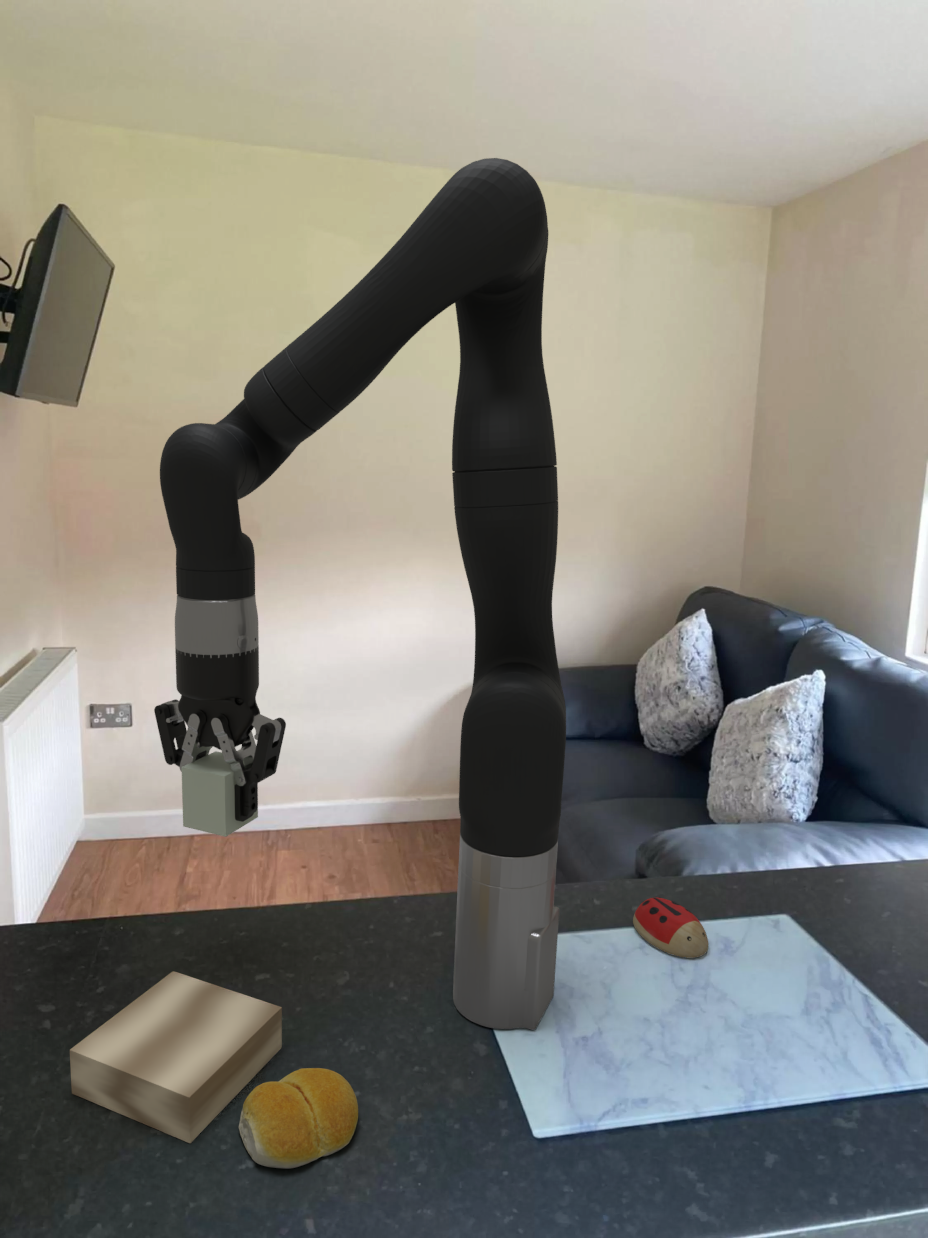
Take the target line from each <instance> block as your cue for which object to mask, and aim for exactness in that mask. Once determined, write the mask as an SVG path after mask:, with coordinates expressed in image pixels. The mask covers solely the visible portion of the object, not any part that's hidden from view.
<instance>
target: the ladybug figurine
mask: <svg viewBox="0 0 928 1238" xmlns="http://www.w3.org/2000/svg"><path fill="white" fill-rule="evenodd" d="M632 923H633V924H632V925H633V926H634V928H635V931H637V933H638V934H639V935H640V937H642V938H643V939H644V940H645V941H646V942H647V943H649V944H650V945H651V946H653V947H654V948H656V949H658V950H660V951H662V952H665V953H666V952H667V953H666V954H669V955H671V954H672V956H674V955H675V956H674V957H678V956H679V958H684V957H686V958H685V959H694V958H695V957H696V958H700V957H701V956H704V955H705V954H706V953H707V951H708V949H709V944H710V943H709V939H708V936H707V932H706V930H705V928H704V926H703V924H702V923H701V922H700V920H699V919H698V918H697V916H696V915H694V914H693V913H692V912H691V911H690V910H688V909H687V908H686V907H684V906H682V905H680V903H678V902H676V901H672V900H669V899H666V898H662V897H660V896H659V897H650V898H647V899H645V900H644V901H643V902H641V903H640V904H639V906H637V908H636V910H635V911H634V915H633V918H632Z"/></svg>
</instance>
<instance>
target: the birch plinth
mask: <svg viewBox="0 0 928 1238" xmlns="http://www.w3.org/2000/svg"><path fill="white" fill-rule="evenodd" d="M282 1013H283V1007H282V1006H279V1005H276V1004H273V1003H270V1002H267V1001H264V1000H263V999H262V1000H261V999H258V998H256V997H253V996H252V997H251V996H249V995H246V994H243V993H240V992H238V991H235V990H231V989H228V988H224V987H223V986H219V985H216V984H213V983H210V982H207V981H204V980H201V979H198V978H195V977H192V976H189V975H187V974H183V973H180V972H177V971H171V972H170V973H168V974H167V975H166V976H164V977H163V978H162V979H161V980H160V981H158V982H157V983H155V984H154V985H152V986H151V987H150V988H149V989H147V991H145V992H144V993H142V994H141V995H139V996H138V997H137V998H136V999H134V1000H133V1001H132V1002H130V1003H129V1004H128V1005H126V1006H125V1007H123V1009H121V1010H120V1011H119V1012H118V1013H116V1014H114V1016H113V1017H111V1018H110V1019H108V1020H107V1021H106V1022H104V1023H103V1024H102V1025H100V1026H99V1027H98V1028H97V1029H95V1030H94V1031H92V1032H91V1033H90V1034H88V1035H87V1036H86V1037H85V1038H83V1039H82V1040H81V1041H79V1042H78V1043H76V1044H75V1045H73V1047H72V1048H70V1049H69V1063H70V1064H69V1065H70V1080H71V1081H70V1084H71V1085H70V1086H71V1095H74V1096H76V1097H78V1098H82V1099H84V1100H87V1101H89V1102H92V1103H94V1104H95V1105H98V1106H101V1107H103V1108H105V1109H108V1110H110V1111H112V1112H115V1113H117V1114H119V1115H122V1116H124V1117H127V1118H128V1119H131V1120H133V1121H136V1122H138V1123H140V1124H144V1125H145V1126H148V1127H150V1128H153V1129H155V1130H157V1131H160V1132H162V1133H164V1134H166V1135H169V1136H172V1137H174V1138H175V1139H176V1138H177V1140H181V1141H183V1142H186V1143H188V1144H192V1142H194V1141H195V1139H196V1138H198V1137H199V1135H200V1133H202V1132H203V1131H204V1130H205V1129H206V1127H208V1125H210V1124H211V1123H212V1121H213V1120H214V1119H216V1118H217V1116H218V1115H219V1114H220V1113H221V1112H222V1111H223V1110H224V1109H225V1108H226V1107H227V1106H228V1104H230V1102H232V1101H233V1099H235V1097H236V1096H237V1095H238V1094H239V1093H240V1092H241V1091H242V1090H243V1089H244V1088H245V1087H246V1086H247V1085H248V1084H249V1083H250V1082H251V1080H252V1079H254V1077H256V1075H257V1074H258V1073H259V1072H260V1071H261V1070H262V1069H263V1068H264V1067H265V1066H266V1065H267V1064H268V1062H270V1061H271V1060H272V1058H273V1057H274V1056H275V1055H276V1054H278V1052H279V1051H280V1050H281V1049H282V1048H283V1047H282V1046H283V1045H282V1043H283V1041H282V1040H283V1033H282V1032H283V1028H282V1027H283V1022H282V1021H283V1017H282V1016H283V1014H282Z"/></svg>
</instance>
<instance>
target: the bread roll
mask: <svg viewBox="0 0 928 1238" xmlns="http://www.w3.org/2000/svg"><path fill="white" fill-rule="evenodd" d="M358 1119H359V1104H358V1099H357V1096H356V1093H355V1091H354V1089H353V1088H352V1085H351V1083H350V1082H348V1080H347V1079H345V1077H344V1076H343V1075H341V1074H340V1073H338V1072H336V1071H334V1070H331V1069H328V1068H320V1067H311V1068H310V1067H308V1068H307V1067H306V1068H304V1067H303V1068H299V1069H297V1070H295V1071H292V1072H290V1073H289V1074H287V1075H285V1076H284V1077H283V1078H281V1079H280V1080H278V1081H265V1082H263V1083H260V1084H259V1085H257V1086H255V1087H254V1088H253V1089H252V1090H251V1092H249V1094H248V1095H247V1096H246V1098H245V1100H244V1102H243V1104H242V1109H241V1113H240V1119H239V1124H238V1131H239V1134H240V1137H241V1140H242V1142H243V1146H244V1148H245V1150H246V1151H247V1153H248V1154H249V1156H250V1157H251V1159H252V1160H253V1161H254V1162H255V1163H257V1164H258V1165H261V1166H264V1167H266V1168H276V1169H285V1170H286V1169H294V1168H298V1167H299V1168H300V1167H301V1166H304V1165H305V1166H306V1165H307V1164H310V1163H311V1162H314V1161H317V1160H318V1159H319V1158H321V1157H327V1156H330V1155H333V1154H335V1153H337V1152H339V1151H340V1150H342V1149H343V1148H345V1147H346V1146H347V1145H348V1144H349V1143H350V1142H351V1140H352V1138H353V1137H354V1134H355V1132H356V1128H357V1124H358Z"/></svg>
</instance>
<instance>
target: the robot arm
mask: <svg viewBox="0 0 928 1238" xmlns="http://www.w3.org/2000/svg"><path fill="white" fill-rule="evenodd" d="M540 188H541V187H539V184H538V182H537V181H536V179H535V178H534V177H533V176H532V174H531V173H529V172H528V170H526V169H525V168H524V167H522V166H521V165H519V164H518V163H516V162H513V161H510V160H508V159H505V158H504V159H503V158H498V157H488V158H487V157H486V158H482V159H479V160H475V161H472V162H470V163H468V164H466V165H465V166H462V167H461V168H460V169H458V170H457V171H456V172H455V173H454V174H453V175H452V176H451V177H450V178H449V179H448V180H447V182H446V183H445V184H443V187H441V188H440V190H438V192H437V193H436V195H435V196H434V197H433V198H432V200H430V202H429V203H428V204H427V205H426V206H425V208H423V210H422V212H420V214H419V215H418V216H417V218H416V219H414V221H413V222H412V224H411V225H410V226H409V227H408V228H407V230H406V231H405V232H404V233H403V234H402V236H401V237H400V238H399V239H398V240H397V241H396V242H395V244H393V246H392V247H391V248H390V249H389V250H388V251H387V253H385V255H383V256H382V258H381V259H380V260H379V261H378V262H377V263H376V264H375V265H374V266H373V267H372V268H371V269H370V271H369V272H367V274H365V275H364V276H363V277H362V279H361V280H359V281H358V282H357V283H356V285H354V287H353V288H352V289H350V291H348V292H347V293H346V294H345V295H344V296H343V297H342V298H341V299H339V301H338V302H337V303H335V304H334V305H333V306H332V307H331V308H330V309H329V310H327V312H325V313H324V314H323V315H322V316H321V317H320V318H318V320H316V321H315V322H314V323H313V324H312V325H311V326H309V327H308V328H307V329H305V331H303V333H301V334H300V335H299V336H298V337H296V338H295V339H294V340H293V341H291V342H290V343H289V344H288V345H286V346H285V347H284V348H283V349H282V350H281V351H280V352H279V353H278V354H276V355H275V356H274V357H273V358H272V359H270V360H269V361H268V362H267V363H266V364H265V365H264V366H263V367H261V368H260V369H259V370H258V371H256V372H255V374H254V375H252V377H251V378H250V379H249V380H248V382H247V383H246V385H245V387H244V390H243V399H242V400H241V401H240V402H239V403H238V404H237V405H236V406H234V407H233V409H232V410H231V411H229V413H227V415H225V416H224V417H223V418H221V419H220V420H218V422H216V423H215V424H214V423H206V422H205V423H204V422H195V423H188V424H186V425H183V426H180V427H178V429H176V430H175V431H174V432H172V434H170V436H169V437H168V438H167V440H166V442H165V444H164V445H163V446H164V447H163V449H162V452H161V455H160V456H161V457H160V462H159V482H160V490H161V491H160V492H161V496H162V501H163V504H164V510H165V513H166V517H167V521H168V526H169V530H170V533H171V537H172V539H173V540H172V541H173V542H174V545H175V553H176V554H175V576H176V577H175V581H176V605H175V613H174V646H175V648H174V649H175V651H174V652H175V674H176V675H175V678H176V679H175V681H176V685H175V686H176V690H177V692H178V693H179V695H181V696H180V698H179V700H178V699H173V700H168V701H166V702H163V703H161V704H158V705H156V706H154V710H153V711H154V712H153V713H154V716H155V720H156V725H157V730H158V734H159V739H160V743H161V747H162V753H163V755H164V756H163V757H164V761H165V762H166V764H167V765H169V766H172V765H175V766H177V767H178V768H179V771H180V772H181V773H182V767H183V766H185V765H187V764H189V763H193V762H195V761H196V760H198V759H200V758H202V757H206V756H208V755H209V754H210V751H211V749H212V748H213V747H214V748H216V749H217V750H220V752H222V754H223V757H224V760H225V762H226V763H227V764H229V765H230V767H231V770H232V772H234V779H235V782H236V785H234V790H235V819H236V820H237V821H241V822H243V821H245V820H247V819H248V818H250V817H252V816H253V814H254V813H255V812H256V811H257V808H258V809H259V798H257V797H259V793H258V792H259V791H258V790H259V789H258V788H259V786H258V784H259V783H260V782H262V781H264V780H266V779H267V778H269V777H271V776H273V775H275V774H276V772H277V769H278V765H279V759H280V755H281V750H282V745H283V741H284V736H285V732H286V727H287V723H286V720H285V719H284V718H283V717H277V718H275V719H272V718H270V717H267V716H265V715H263V714H261V711H260V708H259V706H258V704H257V699H256V697H257V692H258V690H259V687H260V655H259V654H260V651H259V650H260V647H259V638H260V637H259V614H258V605H257V601H256V600H257V599H256V555H255V547H254V544H253V541H252V539H251V538H250V536H249V535H248V534H246V533H244V532H243V531H242V525H241V524H242V523H241V518H240V517H241V515H240V508H239V500H241V499H243V498H245V497H246V496H249V495H250V494H252V493H253V492H255V491H256V490H257V489H259V487H260V486H261V485H263V484H264V483H265V482H266V481H267V480H269V478H271V476H272V475H273V474H274V473H275V472H276V471H277V470H278V469H280V466H282V465H283V464H284V463H285V461H286V460H287V459H288V458H289V457H291V455H292V453H293V452H294V451H295V450H296V449H297V447H299V445H301V443H303V442H305V440H307V439H309V438H310V437H311V436H313V435H314V434H315V433H316V432H318V431H319V430H320V429H321V428H323V427H324V426H325V425H326V424H328V422H330V421H331V420H333V418H335V417H336V416H337V415H339V413H341V412H342V411H343V410H344V409H346V408H347V407H348V406H349V405H350V404H352V402H354V401H355V400H356V399H357V398H358V397H359V396H360V395H361V394H362V393H363V392H364V391H365V390H366V389H368V387H369V386H370V385H371V384H372V382H374V380H375V379H376V378H378V376H379V375H380V373H382V372H383V370H384V369H385V368H386V366H387V365H388V364H389V363H390V362H391V361H392V359H394V357H395V356H396V355H397V354H398V352H399V351H400V350H402V349H403V348H404V346H405V345H407V343H408V342H409V341H410V340H411V339H412V338H413V337H415V335H416V334H418V332H420V331H421V330H422V329H423V328H424V327H425V326H426V325H427V324H429V323H430V321H432V320H434V318H436V317H437V316H438V315H440V314H441V313H442V312H443V311H445V310H447V308H450V306H453V305H454V304H455V312H456V313H455V314H456V321H457V322H456V323H457V329H458V341H459V362H460V363H459V372H458V373H459V376H458V383H457V391H456V398H455V405H454V406H455V407H454V415H453V427H452V428H453V429H452V442H451V443H452V444H451V445H452V446H451V447H452V448H451V470H452V471H453V472H452V474H451V475H452V489H453V506H454V517H455V524H456V525H455V526H456V531H457V538H458V544H459V550H460V553H461V559H462V562H463V567H464V571H465V574H466V578H467V582H468V586H469V590H470V595H471V599H472V606H473V612H474V613H473V615H474V630H475V631H474V638H475V639H474V667H473V668H474V669H473V678H472V687H471V692H470V695H469V699H468V701H467V703H466V706H465V707H464V708H465V709H464V712H463V715H462V721H461V729H460V747H459V748H460V749H459V750H460V751H459V778H458V779H459V781H458V782H459V784H458V785H459V786H458V787H459V788H458V811H459V814H460V815H459V816H460V818H459V819H460V822H459V823H460V825H459V827H460V828H459V852H458V853H459V854H458V868H457V869H458V871H457V873H458V874H457V893H456V895H457V896H456V897H457V898H456V914H455V915H456V916H455V917H456V918H455V938H454V939H455V940H454V958H453V959H454V961H453V962H454V964H453V965H454V967H453V976H452V977H453V978H452V985H453V988H452V989H453V990H452V1000H453V1004H454V1006H455V1008H456V1009H457V1011H458V1013H460V1014H461V1015H462V1016H463V1017H465V1019H467V1020H469V1021H470V1022H473V1023H475V1024H477V1025H480V1026H481V1027H482V1026H483V1027H486V1028H491V1029H498V1030H511V1029H520V1028H522V1029H528V1030H531V1031H535V1030H536V1029H537V1028H538V1025H539V1023H540V1022H541V1020H542V1018H543V1016H544V1014H545V1012H546V1010H547V1009H548V1007H549V1005H550V1003H551V1001H552V1000H553V998H554V995H555V981H556V965H557V964H556V963H557V951H558V938H559V936H558V935H559V923H560V922H559V921H560V908H559V907H557V906H555V905H554V903H555V892H556V891H555V888H556V876H557V860H558V844H559V843H558V842H559V833H560V832H559V831H560V822H561V814H562V800H563V788H564V786H563V784H564V775H565V774H564V772H565V758H566V743H567V741H566V740H567V707H566V699H565V695H564V694H565V693H564V691H563V685H562V681H561V675H560V667H559V662H558V655H557V648H556V640H555V631H554V625H553V624H554V622H553V621H554V620H553V592H554V591H553V590H554V584H555V583H554V582H555V581H554V580H555V572H556V561H557V554H558V553H557V551H558V531H559V490H558V489H559V487H558V485H559V484H558V467H557V465H558V463H557V461H558V459H557V451H556V449H557V448H556V438H555V430H554V429H555V428H554V422H553V421H554V420H553V414H552V408H551V407H552V406H551V401H550V400H551V399H550V395H549V388H548V383H547V378H546V370H545V366H544V365H545V364H544V359H543V345H542V342H543V341H542V338H543V337H542V331H543V329H542V327H543V303H544V301H543V300H544V286H545V285H544V284H545V273H546V261H547V254H548V246H549V227H548V226H549V225H548V224H549V223H548V222H549V221H548V214H547V209H546V208H547V207H546V202H545V199H544V196H543V193H542V191H541V189H540ZM186 725H187V727H186ZM253 729H255V735H253V734H254V733H253V732H252V731H253ZM238 746H241V747H240V748H239V749H238V750H237V749H236V747H238ZM176 747H177V748H176ZM243 761H244V764H245V765H246V770H245V767H244V764H243Z"/></svg>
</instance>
